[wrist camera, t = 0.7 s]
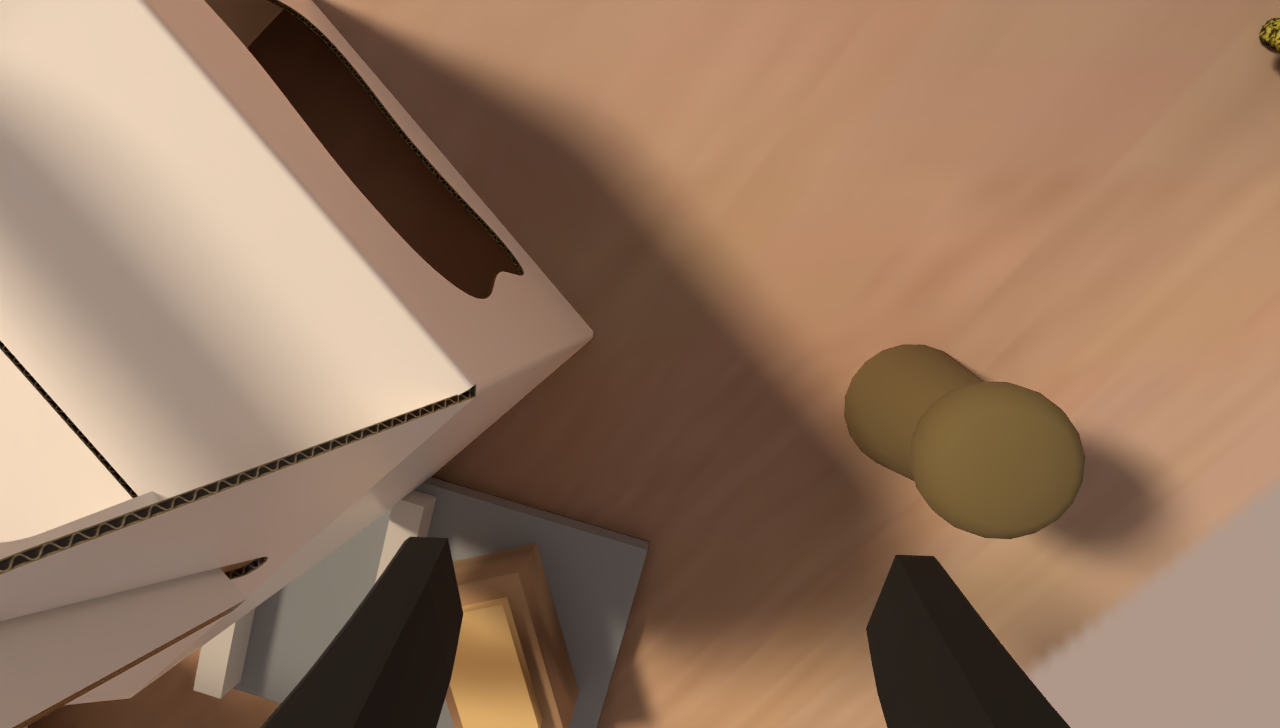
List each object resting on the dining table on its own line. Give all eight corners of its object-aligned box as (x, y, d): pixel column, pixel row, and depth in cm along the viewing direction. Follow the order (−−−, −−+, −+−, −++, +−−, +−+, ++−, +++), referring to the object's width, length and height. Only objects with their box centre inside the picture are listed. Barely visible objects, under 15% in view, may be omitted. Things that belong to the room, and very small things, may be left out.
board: (579, 785, 36) (568, 830, 33) (213, 666, 37) (170, 700, 34) (649, 542, 34) (644, 567, 31) (259, 425, 35) (218, 439, 32)
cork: (960, 481, 32) (1092, 584, 21) (832, 457, 32) (896, 546, 21) (990, 356, 31) (1145, 396, 20) (858, 333, 31) (940, 360, 21)
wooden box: (579, 691, 34) (562, 747, 30) (486, 709, 35) (457, 766, 30) (536, 542, 33) (513, 579, 29) (442, 563, 34) (407, 602, 30)
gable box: (125, 171, 34) (-2253, -277, 7) (301, -15, 32) (-2053, -1738, 5) (411, 500, 35) (-682, 1316, 7) (600, 338, 33) (66, 628, 5)
